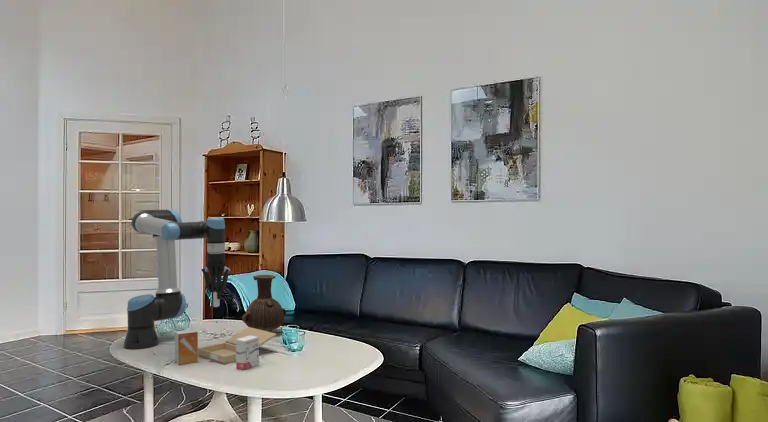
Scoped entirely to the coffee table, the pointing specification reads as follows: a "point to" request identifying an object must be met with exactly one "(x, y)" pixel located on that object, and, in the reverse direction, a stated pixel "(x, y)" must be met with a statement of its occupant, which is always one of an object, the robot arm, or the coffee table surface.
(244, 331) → the lid
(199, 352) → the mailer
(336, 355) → the coffee table surface
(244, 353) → the ink box
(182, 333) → the small box
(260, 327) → the vase
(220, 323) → the coffee table surface
